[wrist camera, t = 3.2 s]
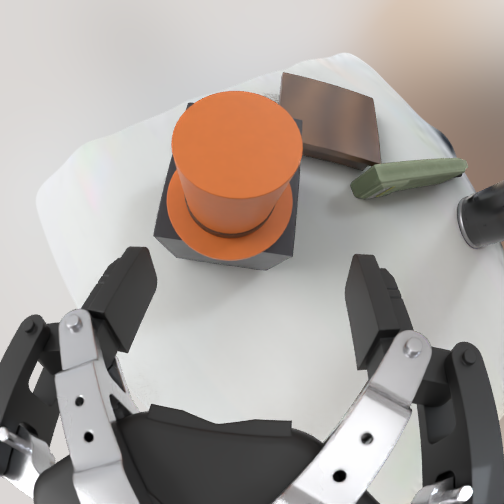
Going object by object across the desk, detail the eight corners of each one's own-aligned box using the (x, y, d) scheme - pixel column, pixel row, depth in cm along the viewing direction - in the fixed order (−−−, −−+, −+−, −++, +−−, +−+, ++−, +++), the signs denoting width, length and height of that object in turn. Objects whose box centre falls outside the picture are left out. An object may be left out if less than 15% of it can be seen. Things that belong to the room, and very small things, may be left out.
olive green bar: (348, 179, 35) (452, 166, 38) (355, 202, 34) (458, 183, 38) (372, 159, 28) (475, 154, 32) (382, 186, 28) (482, 172, 32)
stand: (362, 112, 37) (373, 98, 33) (367, 176, 35) (381, 164, 31) (277, 89, 36) (283, 72, 32) (270, 153, 34) (276, 137, 30)
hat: (294, 156, 21) (331, 91, 13) (284, 269, 19) (329, 250, 11) (182, 139, 20) (169, 66, 12) (157, 250, 18) (116, 219, 10)
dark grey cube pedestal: (278, 175, 33) (306, 120, 22) (267, 271, 31) (296, 256, 19) (196, 163, 32) (188, 102, 21) (177, 258, 30) (153, 236, 18)
